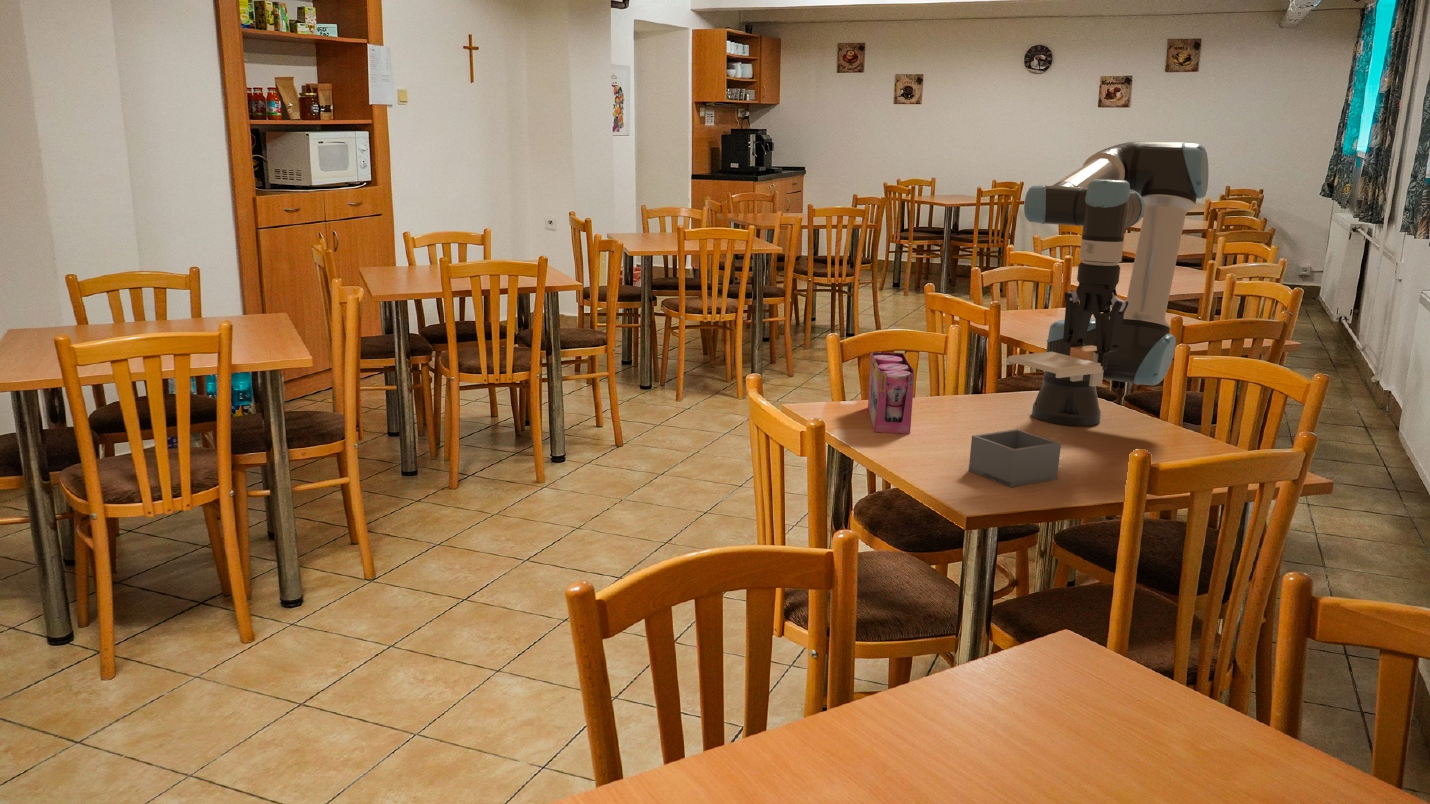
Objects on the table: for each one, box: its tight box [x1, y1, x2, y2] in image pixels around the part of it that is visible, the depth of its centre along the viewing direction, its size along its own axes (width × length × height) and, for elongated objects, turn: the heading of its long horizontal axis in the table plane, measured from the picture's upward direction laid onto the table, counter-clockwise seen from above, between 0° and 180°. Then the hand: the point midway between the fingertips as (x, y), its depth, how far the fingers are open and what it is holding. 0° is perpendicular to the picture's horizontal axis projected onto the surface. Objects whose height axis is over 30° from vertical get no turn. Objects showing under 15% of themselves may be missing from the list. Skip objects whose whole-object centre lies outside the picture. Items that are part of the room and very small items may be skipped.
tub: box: [968, 428, 1062, 488], centre depth 200 cm, size 12×11×7 cm
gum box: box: [867, 351, 915, 435], centre depth 236 cm, size 24×8×14 cm, turn 176°
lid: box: [1005, 345, 1103, 378], centre depth 202 cm, size 18×13×4 cm
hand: (1085, 382), depth 206 cm, fingers closed on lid, 4 cm apart
